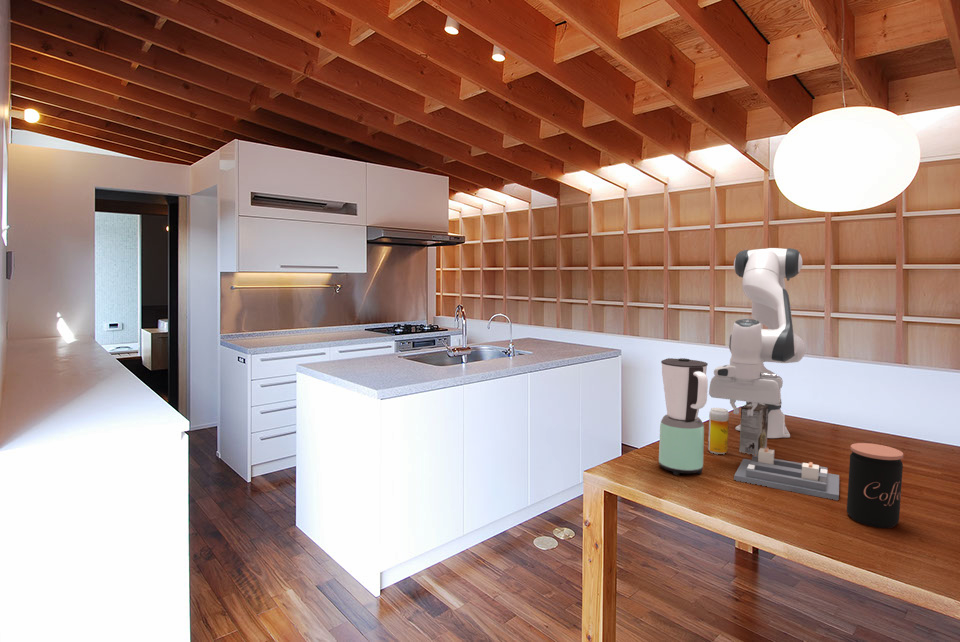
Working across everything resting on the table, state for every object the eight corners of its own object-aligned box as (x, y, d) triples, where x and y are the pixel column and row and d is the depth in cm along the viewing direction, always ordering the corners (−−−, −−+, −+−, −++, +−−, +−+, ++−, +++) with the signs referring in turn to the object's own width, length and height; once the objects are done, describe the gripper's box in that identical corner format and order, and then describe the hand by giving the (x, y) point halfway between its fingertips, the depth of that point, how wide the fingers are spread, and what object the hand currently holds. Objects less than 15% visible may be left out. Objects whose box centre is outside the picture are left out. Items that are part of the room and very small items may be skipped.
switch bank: (743, 463, 176) (743, 452, 176) (838, 480, 162) (839, 468, 161) (733, 480, 161) (734, 468, 161) (838, 500, 147) (839, 488, 146)
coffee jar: (860, 528, 131) (865, 455, 129) (837, 509, 141) (841, 441, 140) (909, 530, 129) (914, 457, 128) (882, 511, 140) (886, 443, 138)
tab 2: (801, 479, 157) (803, 460, 157) (818, 482, 155) (819, 463, 155) (801, 483, 154) (802, 464, 154) (817, 486, 152) (818, 467, 151)
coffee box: (747, 446, 193) (749, 402, 192) (767, 450, 189) (769, 405, 187) (738, 452, 187) (740, 406, 186) (758, 456, 182) (760, 409, 181)
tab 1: (759, 463, 171) (760, 446, 170) (773, 465, 168) (774, 448, 168) (757, 467, 167) (758, 449, 167) (772, 469, 165) (773, 451, 165)
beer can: (729, 455, 183) (731, 412, 182) (710, 454, 184) (711, 411, 183) (724, 450, 189) (726, 408, 188) (706, 449, 190) (707, 407, 189)
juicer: (647, 462, 177) (650, 356, 174) (683, 459, 180) (687, 354, 177) (681, 483, 158) (685, 365, 155) (721, 480, 161) (726, 363, 158)
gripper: (783, 373, 166) (781, 417, 167) (712, 366, 177) (711, 408, 179) (781, 376, 161) (779, 422, 162) (708, 369, 172) (707, 412, 173)
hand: (743, 414), depth 170 cm, fingers open, 3 cm apart
